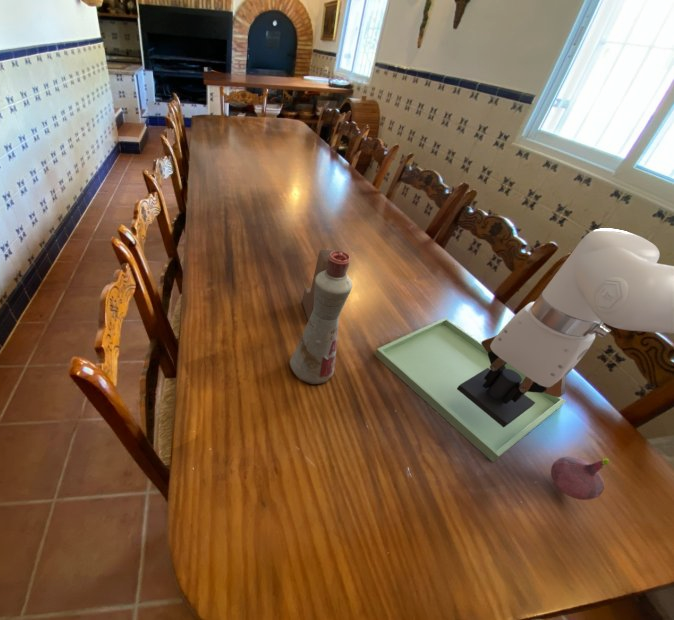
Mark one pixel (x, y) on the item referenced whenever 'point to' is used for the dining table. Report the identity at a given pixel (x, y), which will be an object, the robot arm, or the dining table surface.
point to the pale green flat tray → (448, 373)
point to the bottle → (323, 322)
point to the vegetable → (578, 477)
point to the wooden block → (309, 292)
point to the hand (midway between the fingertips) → (498, 391)
